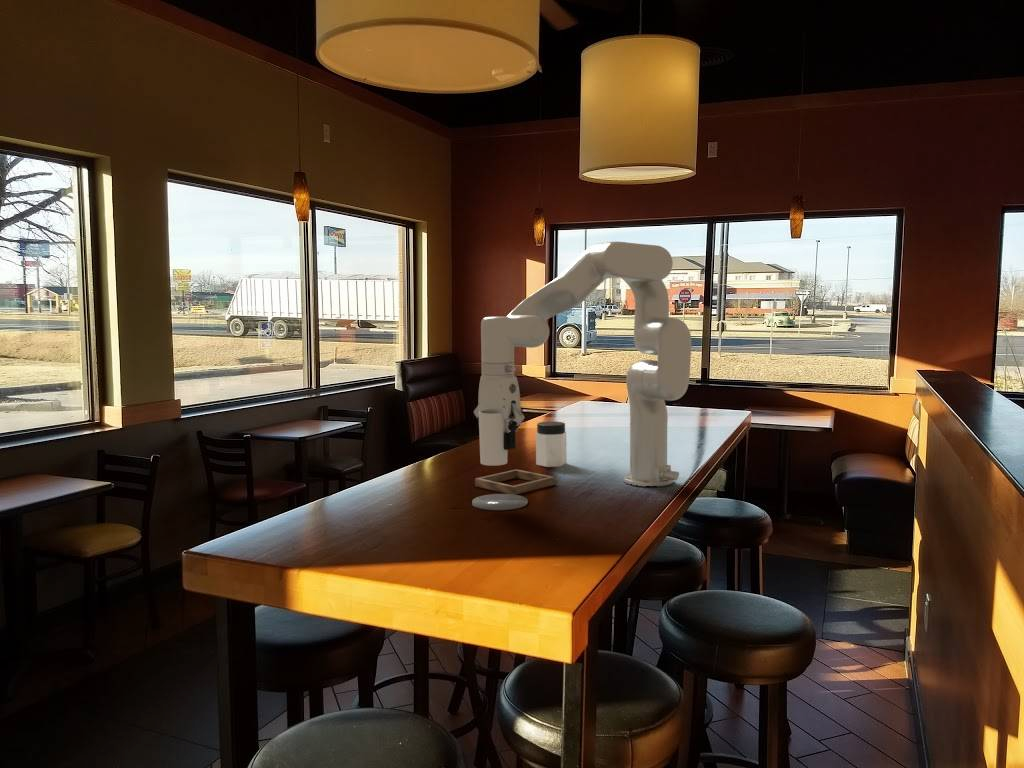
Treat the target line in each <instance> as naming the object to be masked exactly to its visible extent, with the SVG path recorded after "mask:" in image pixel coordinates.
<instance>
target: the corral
mask: <svg viewBox="0 0 1024 768" xmlns="http://www.w3.org/2000/svg"><path fill="white" fill-rule="evenodd" d="M555 477H556V476H553V475H547V474H541V473H538V472H537V473H536V472H531V471H527V470H522V469H521V470H520V469H516V468H515V469H512V470H508V471H503V472H499V473H494V474H490V475H486V476H480V477H476V478H474V486H475V487H476V488H477V487H478V488H481V489H486V490H490V491H493V492H498V493H501V494H513V495H520V494H525V493H527V492H532V491H535V490H540V489H543V488H547V487H551V486H554V485H556V478H555ZM513 479H521V480H526V481H527V482H523V483H519V484H515V485H511V484H506V483H503V482H505V481H509V480H513Z"/></svg>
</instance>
